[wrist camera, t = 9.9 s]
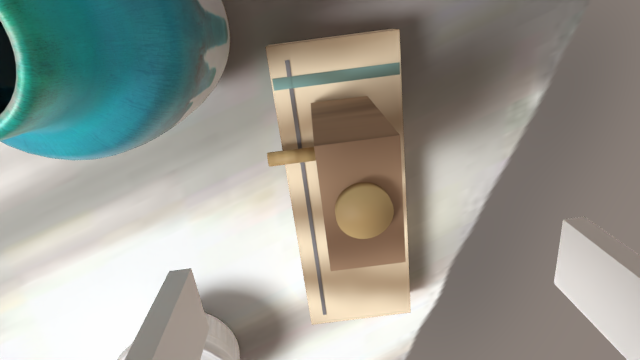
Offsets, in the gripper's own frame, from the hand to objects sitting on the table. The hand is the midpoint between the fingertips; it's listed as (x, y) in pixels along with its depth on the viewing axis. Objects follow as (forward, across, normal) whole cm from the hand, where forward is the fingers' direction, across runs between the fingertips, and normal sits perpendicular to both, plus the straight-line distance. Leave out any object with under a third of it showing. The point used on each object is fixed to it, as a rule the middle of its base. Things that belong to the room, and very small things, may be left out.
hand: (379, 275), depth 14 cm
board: (+18, 0, -5) cm, 19 cm away
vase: (+19, -11, +9) cm, 24 cm away
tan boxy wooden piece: (+16, -1, 0) cm, 16 cm away
